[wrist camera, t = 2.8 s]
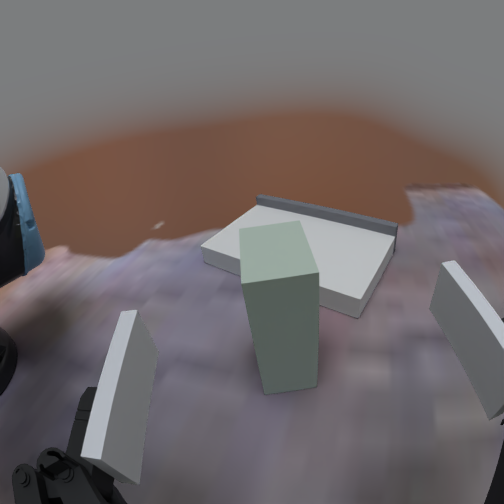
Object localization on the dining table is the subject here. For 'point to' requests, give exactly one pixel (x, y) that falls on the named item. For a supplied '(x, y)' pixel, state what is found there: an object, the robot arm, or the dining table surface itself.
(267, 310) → the carton
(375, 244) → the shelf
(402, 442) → the dining table surface
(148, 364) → the robot arm
